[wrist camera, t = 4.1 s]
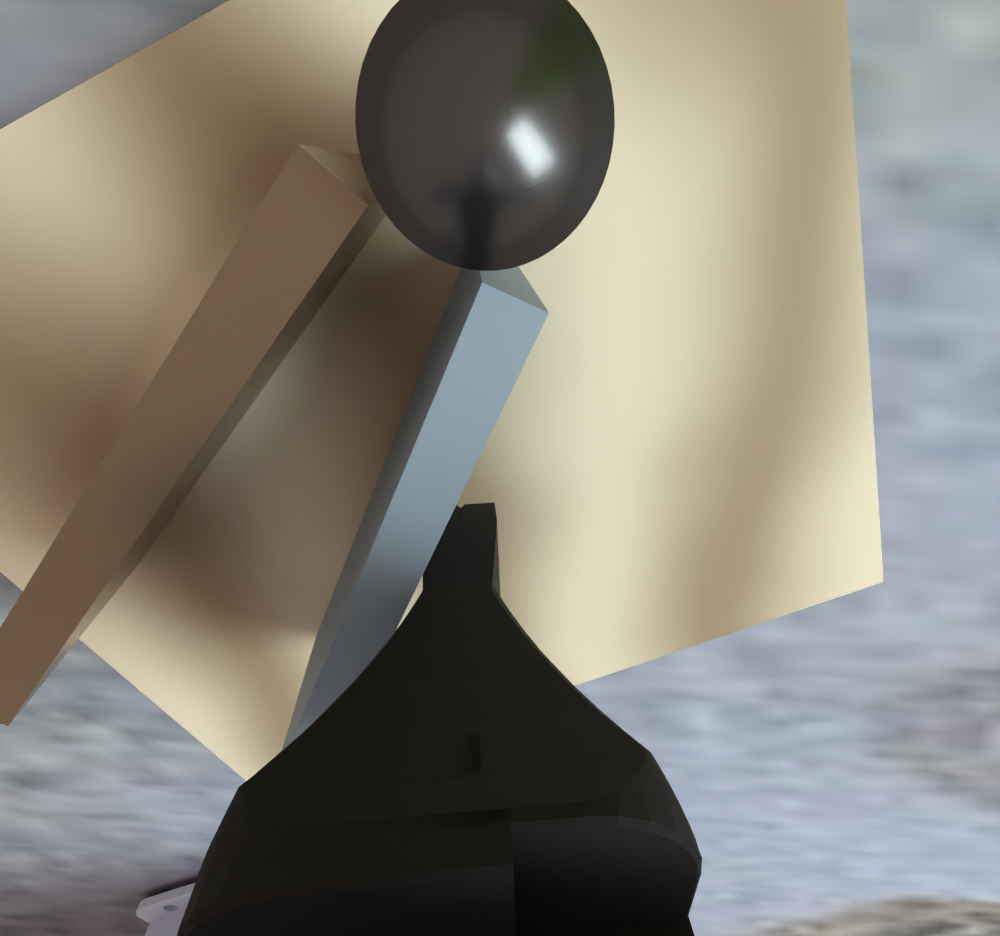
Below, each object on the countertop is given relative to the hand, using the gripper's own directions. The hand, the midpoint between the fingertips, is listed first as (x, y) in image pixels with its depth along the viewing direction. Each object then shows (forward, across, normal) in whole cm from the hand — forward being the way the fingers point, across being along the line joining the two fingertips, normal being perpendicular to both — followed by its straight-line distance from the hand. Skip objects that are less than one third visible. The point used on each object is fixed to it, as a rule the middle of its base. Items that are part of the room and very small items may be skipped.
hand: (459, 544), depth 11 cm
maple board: (+2, +1, -1) cm, 3 cm away
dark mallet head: (+1, +3, -3) cm, 5 cm away
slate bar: (+1, +1, -1) cm, 2 cm away
